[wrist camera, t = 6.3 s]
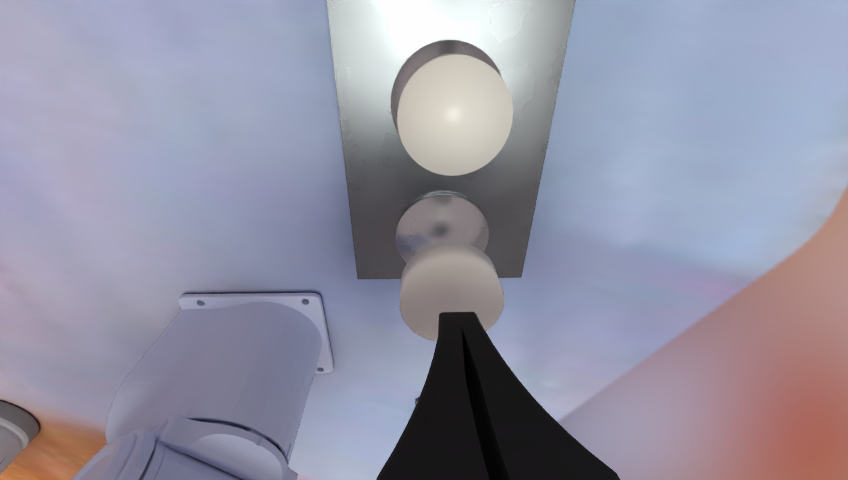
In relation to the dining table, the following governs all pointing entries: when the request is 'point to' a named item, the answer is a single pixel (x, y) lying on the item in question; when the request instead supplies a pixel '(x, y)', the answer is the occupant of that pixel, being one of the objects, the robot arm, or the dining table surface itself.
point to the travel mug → (14, 432)
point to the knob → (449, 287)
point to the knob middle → (454, 114)
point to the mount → (387, 157)
